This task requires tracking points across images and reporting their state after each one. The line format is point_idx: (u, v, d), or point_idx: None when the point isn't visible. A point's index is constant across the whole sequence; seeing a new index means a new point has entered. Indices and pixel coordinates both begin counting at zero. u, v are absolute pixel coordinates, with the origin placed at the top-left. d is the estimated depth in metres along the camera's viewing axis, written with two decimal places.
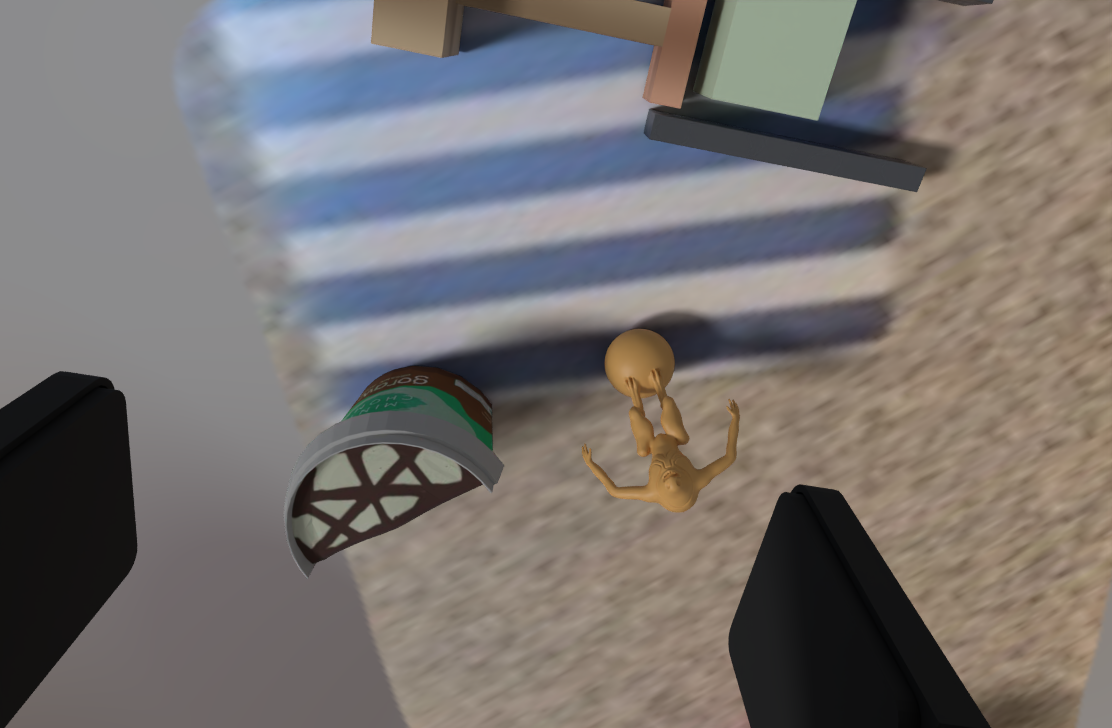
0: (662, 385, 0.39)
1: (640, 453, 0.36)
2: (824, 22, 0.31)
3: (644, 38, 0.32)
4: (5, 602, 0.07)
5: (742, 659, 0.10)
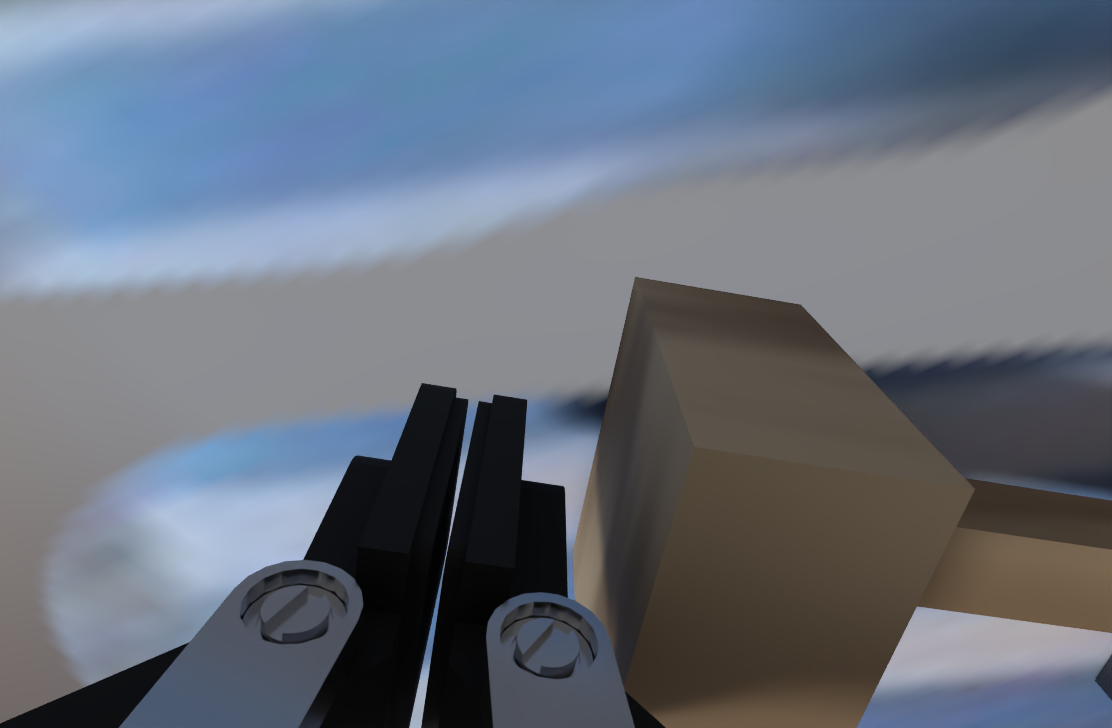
0: None
1: None
2: None
3: None
4: (434, 578, 0.09)
5: None
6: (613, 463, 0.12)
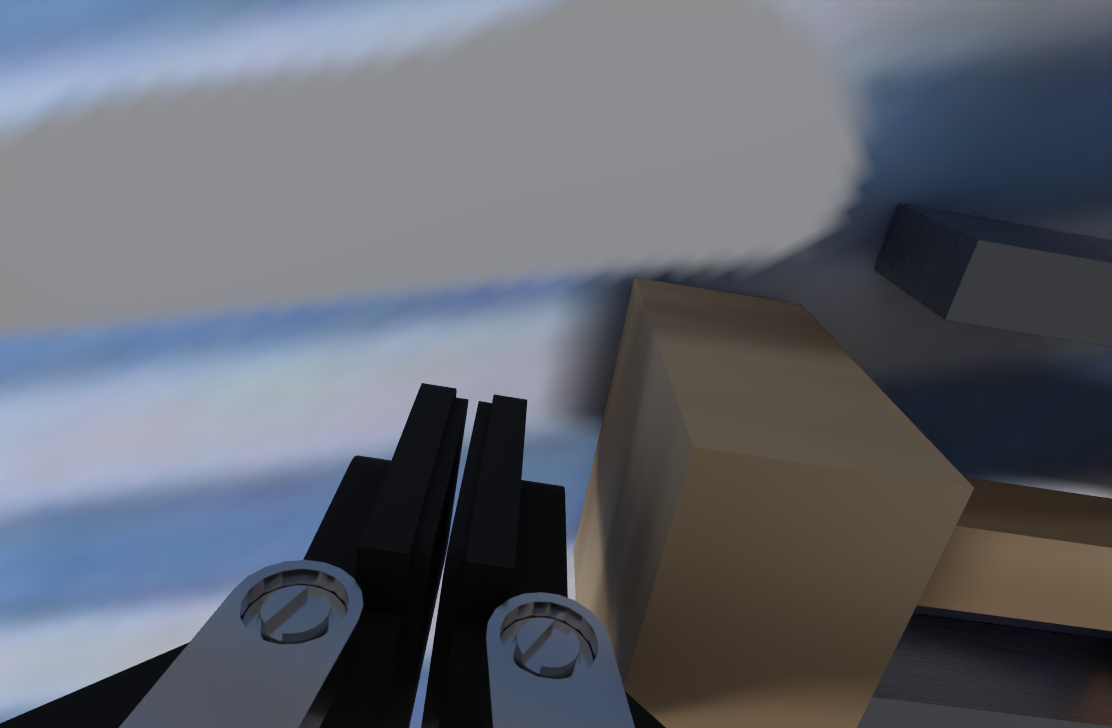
0: None
1: None
2: None
3: None
4: (434, 578, 0.09)
5: None
6: (613, 463, 0.12)
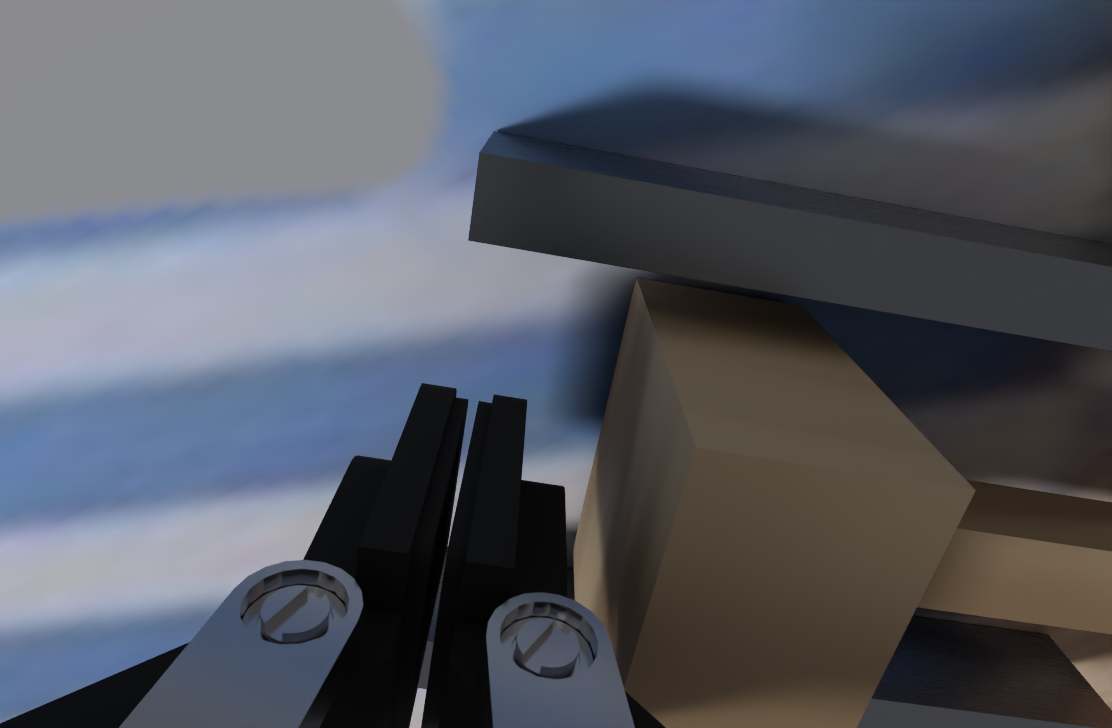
0: None
1: None
2: None
3: None
4: (434, 578, 0.09)
5: None
6: (614, 463, 0.12)
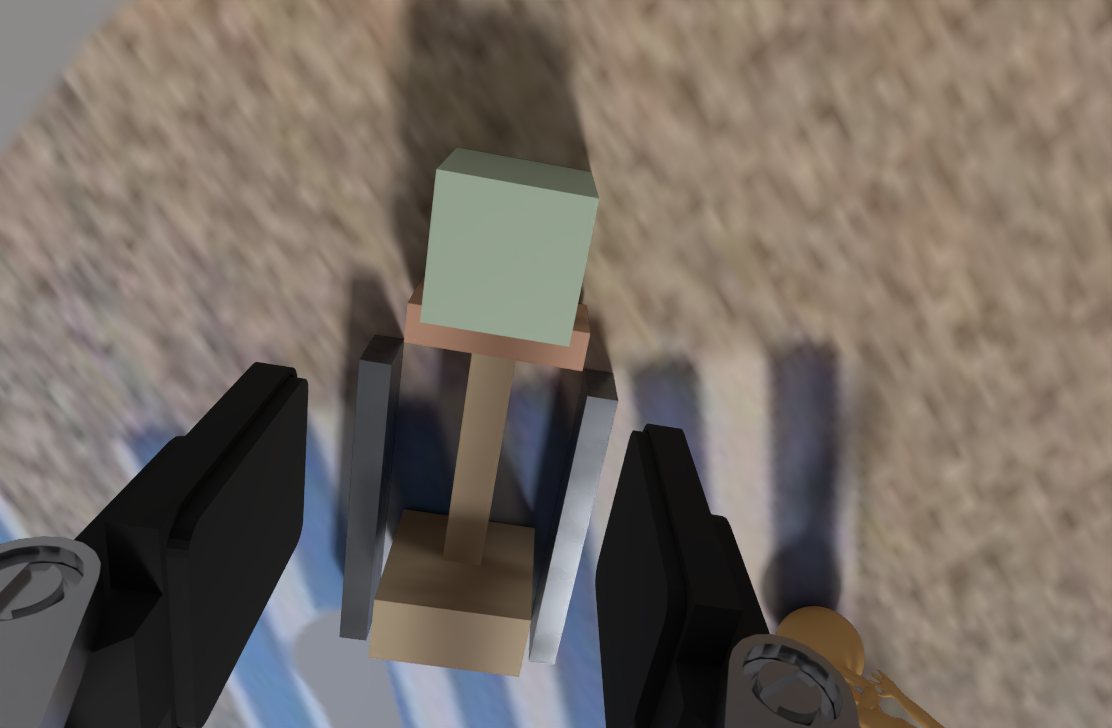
0: (845, 674, 0.31)
1: None
2: (468, 209, 0.22)
3: (507, 381, 0.26)
4: (241, 560, 0.09)
5: (600, 588, 0.11)
6: None
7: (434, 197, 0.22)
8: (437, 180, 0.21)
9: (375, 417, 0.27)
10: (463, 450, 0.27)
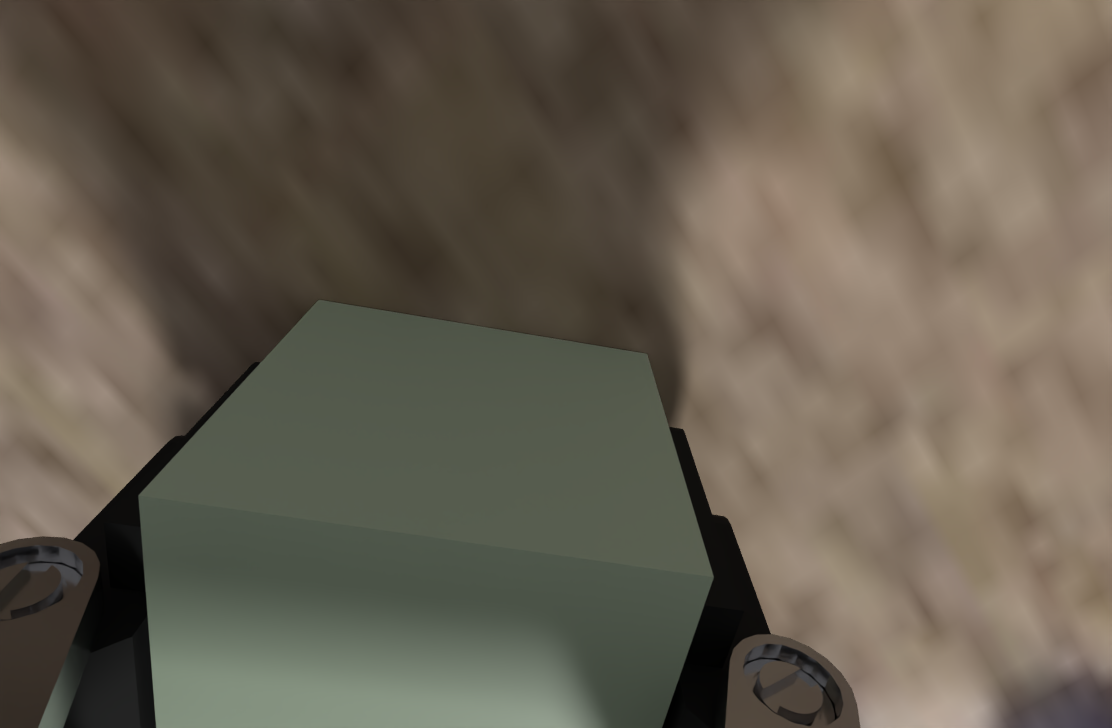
0: None
1: None
2: (269, 607, 0.06)
3: None
4: None
5: None
6: None
7: (147, 576, 0.06)
8: (148, 529, 0.06)
9: None
10: None
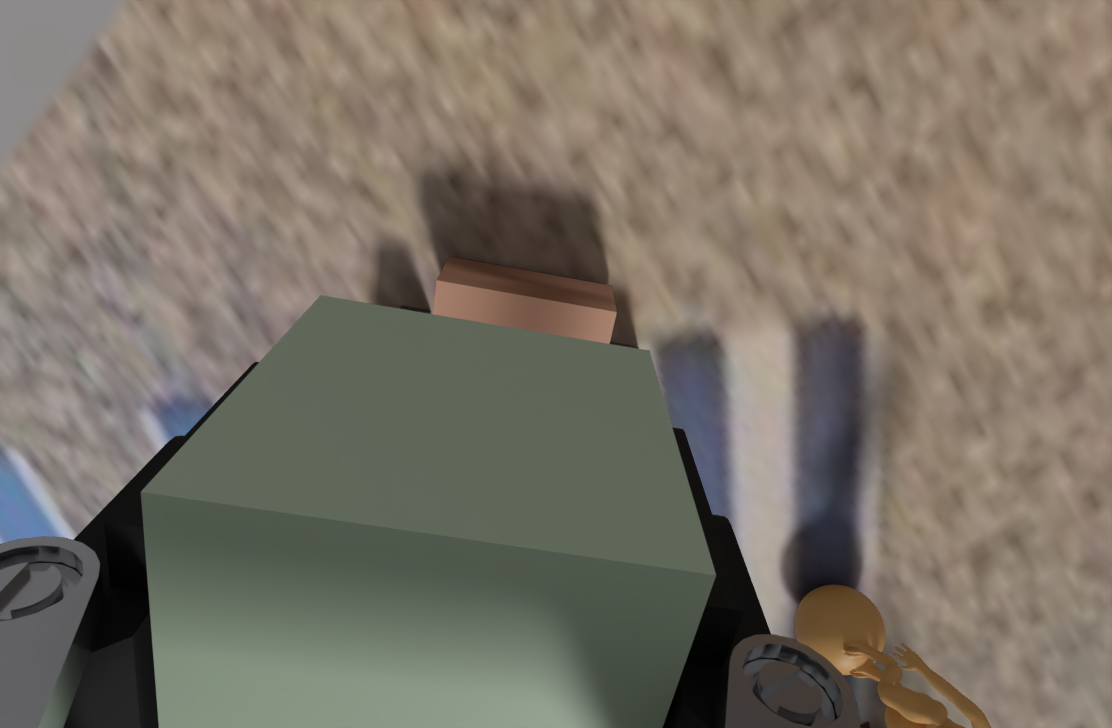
0: (867, 651, 0.31)
1: None
2: (271, 603, 0.06)
3: None
4: None
5: None
6: None
7: (149, 572, 0.06)
8: (150, 525, 0.06)
9: None
10: None
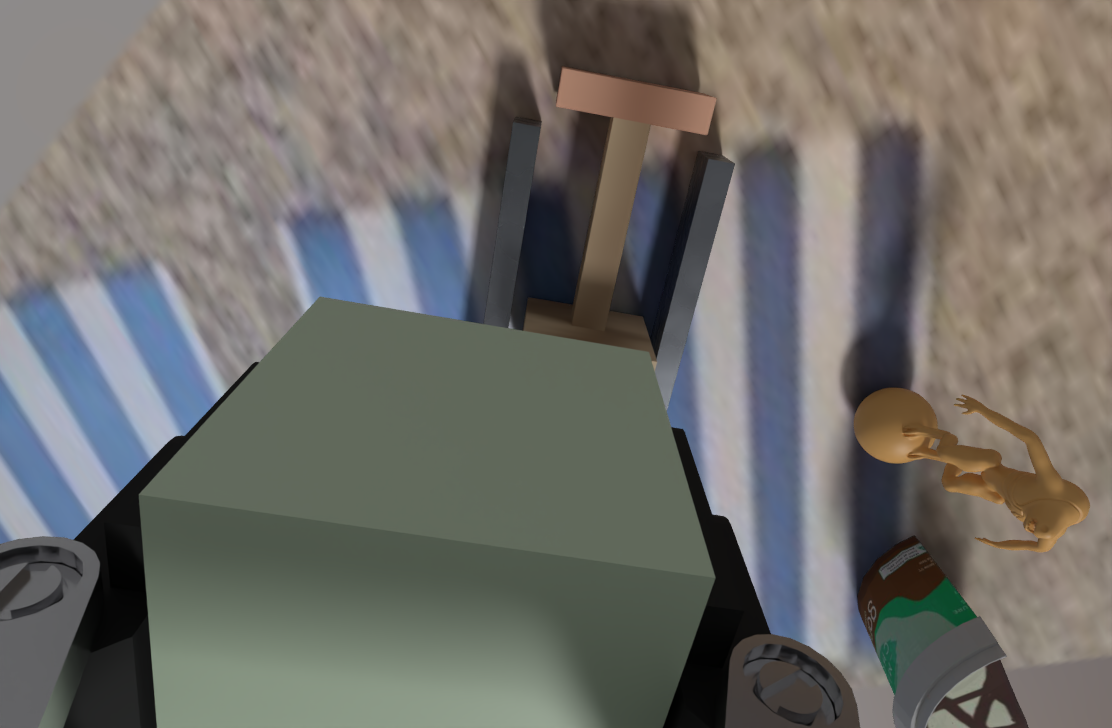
0: (924, 430, 0.35)
1: (1000, 503, 0.32)
2: (270, 606, 0.06)
3: (642, 145, 0.30)
4: None
5: None
6: None
7: (147, 575, 0.06)
8: (148, 528, 0.06)
9: (522, 179, 0.32)
10: (598, 214, 0.31)
